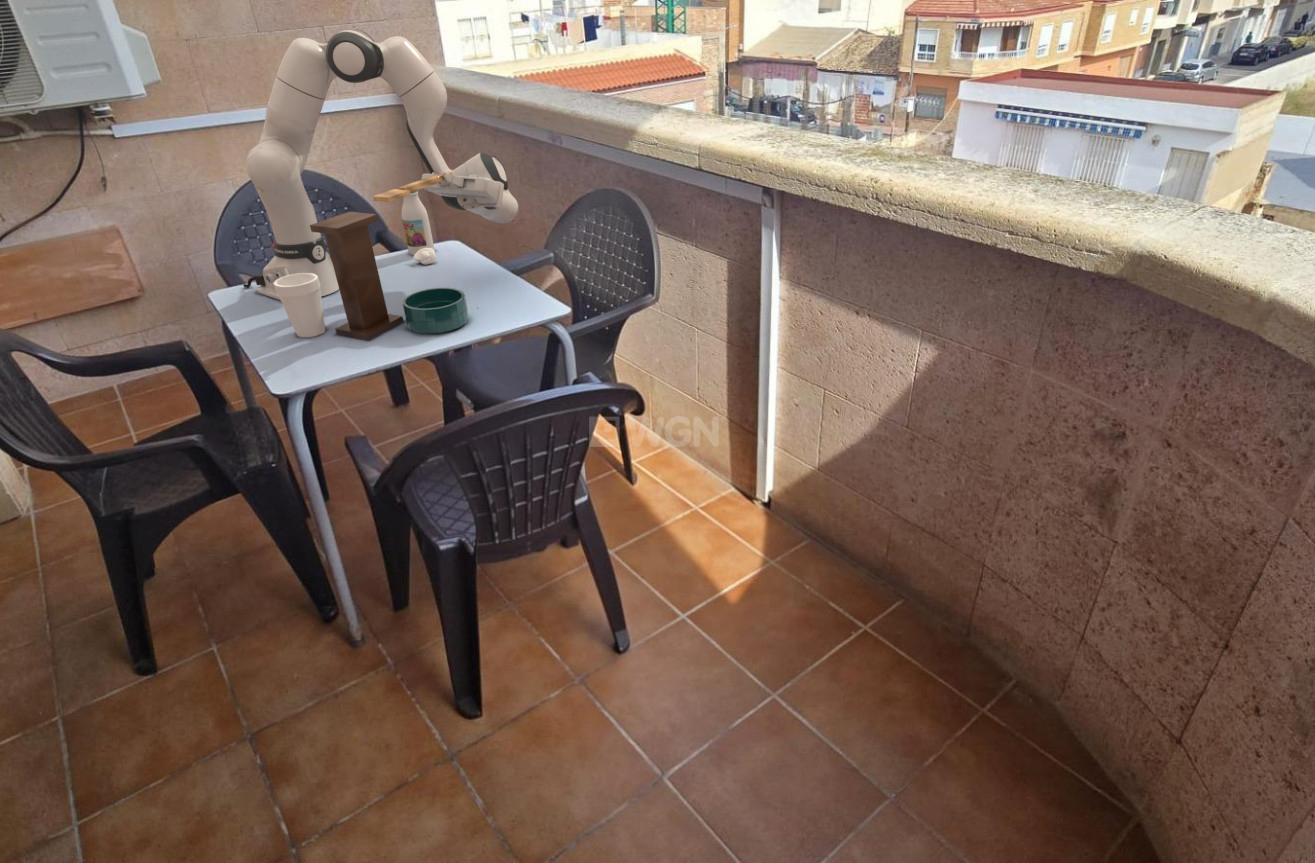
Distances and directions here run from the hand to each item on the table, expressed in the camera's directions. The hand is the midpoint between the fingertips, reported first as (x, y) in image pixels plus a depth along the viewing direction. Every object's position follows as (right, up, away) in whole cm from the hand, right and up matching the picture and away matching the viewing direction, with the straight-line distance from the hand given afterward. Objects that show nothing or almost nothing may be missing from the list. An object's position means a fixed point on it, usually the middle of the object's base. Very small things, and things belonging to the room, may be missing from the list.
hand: (439, 176), depth 173 cm
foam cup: (-31, -37, +1) cm, 48 cm away
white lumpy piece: (-17, -11, +44) cm, 49 cm away
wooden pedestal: (-17, -36, +2) cm, 40 cm away
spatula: (-3, -5, -6) cm, 8 cm away
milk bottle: (-21, -5, +53) cm, 58 cm away
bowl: (-1, -35, +3) cm, 35 cm away
